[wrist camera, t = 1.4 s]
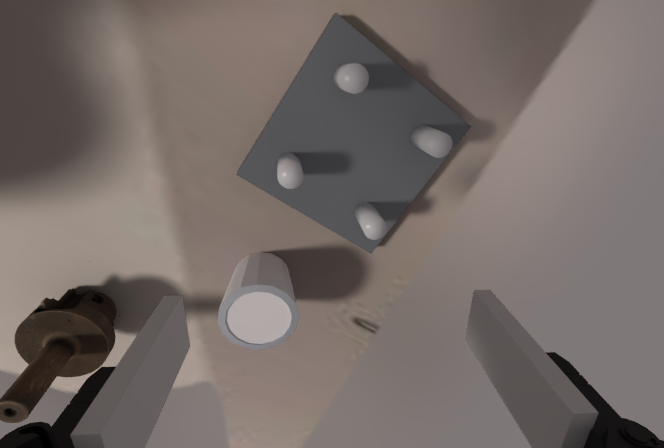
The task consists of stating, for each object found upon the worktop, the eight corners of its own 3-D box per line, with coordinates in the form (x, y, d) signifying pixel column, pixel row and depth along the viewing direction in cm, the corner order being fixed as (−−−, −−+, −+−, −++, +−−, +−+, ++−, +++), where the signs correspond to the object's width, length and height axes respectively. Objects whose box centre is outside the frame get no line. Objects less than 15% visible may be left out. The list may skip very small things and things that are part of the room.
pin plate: (238, 170, 32) (230, 188, 27) (333, 15, 28) (345, 3, 23) (367, 246, 37) (381, 274, 32) (463, 123, 33) (495, 133, 28)
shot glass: (309, 273, 38) (315, 315, 31) (264, 314, 39) (262, 362, 32) (259, 233, 35) (255, 270, 29) (213, 278, 36) (199, 323, 30)
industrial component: (138, 336, 38) (81, 445, 27) (64, 342, 37) (-27, 457, 26) (117, 257, 34) (40, 347, 23) (33, 262, 33) (-87, 358, 22)
